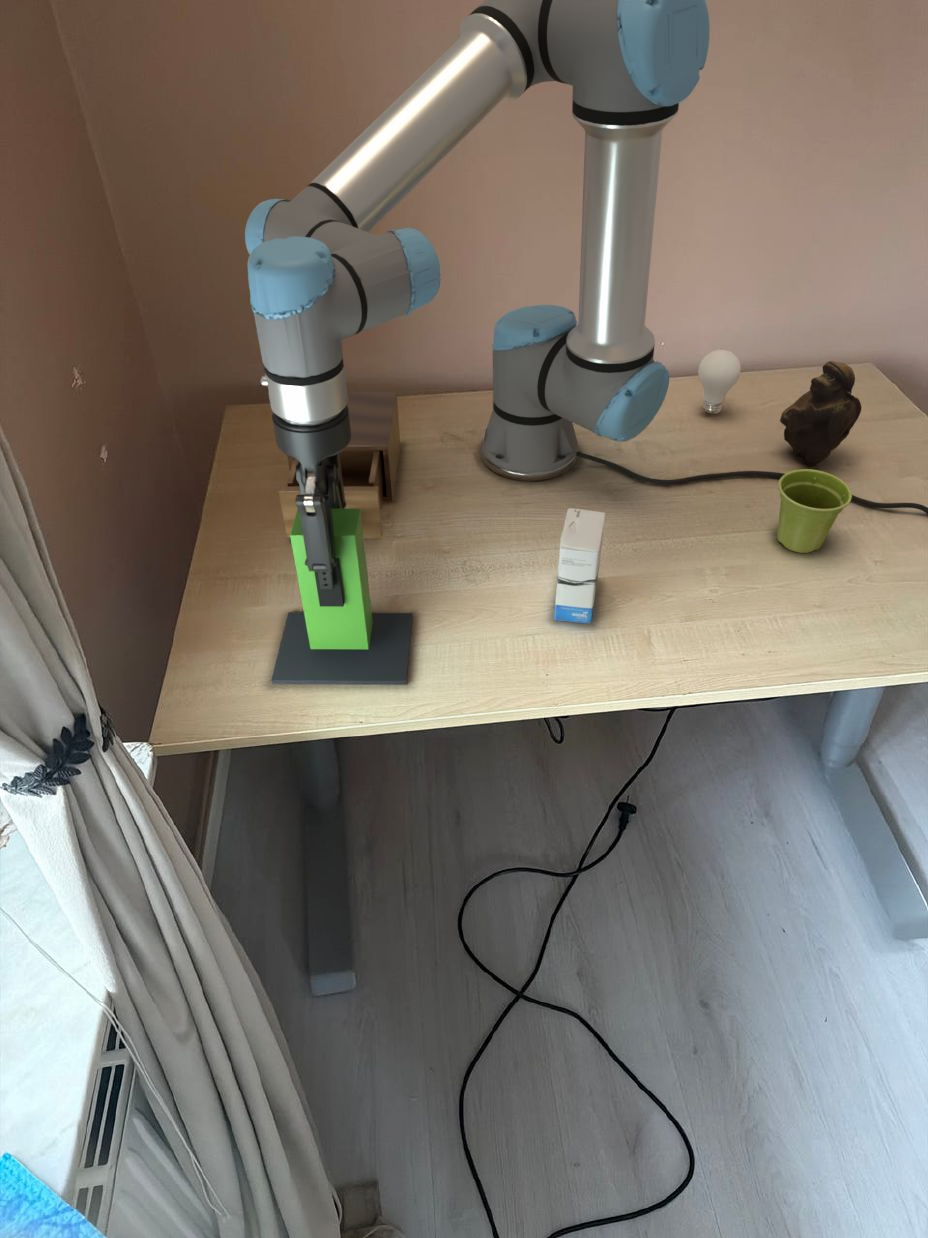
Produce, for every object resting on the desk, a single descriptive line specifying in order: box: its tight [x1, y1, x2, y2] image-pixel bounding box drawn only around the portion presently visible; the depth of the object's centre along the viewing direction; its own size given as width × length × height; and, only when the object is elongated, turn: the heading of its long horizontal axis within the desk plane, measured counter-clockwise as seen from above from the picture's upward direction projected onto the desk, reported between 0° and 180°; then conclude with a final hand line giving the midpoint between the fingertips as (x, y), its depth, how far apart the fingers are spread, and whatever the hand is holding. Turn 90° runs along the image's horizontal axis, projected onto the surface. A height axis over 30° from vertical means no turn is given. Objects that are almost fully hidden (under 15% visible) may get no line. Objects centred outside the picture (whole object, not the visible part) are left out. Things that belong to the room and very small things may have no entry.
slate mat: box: [270, 611, 414, 686], centre depth 110 cm, size 16×12×1 cm
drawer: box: [278, 451, 385, 539], centre depth 127 cm, size 19×13×8 cm
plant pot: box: [776, 468, 853, 554], centre depth 122 cm, size 9×9×9 cm
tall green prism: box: [289, 509, 373, 649], centre depth 103 cm, size 7×5×17 cm
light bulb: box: [697, 349, 742, 415], centre depth 147 cm, size 7×7×11 cm
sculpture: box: [779, 360, 862, 467], centre depth 135 cm, size 11×11×15 cm
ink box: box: [553, 507, 606, 625], centre depth 112 cm, size 8×5×12 cm, turn 168°
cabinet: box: [286, 391, 401, 503], centre depth 136 cm, size 16×15×10 cm
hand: (335, 587), depth 104 cm, fingers closed on tall green prism, 5 cm apart
